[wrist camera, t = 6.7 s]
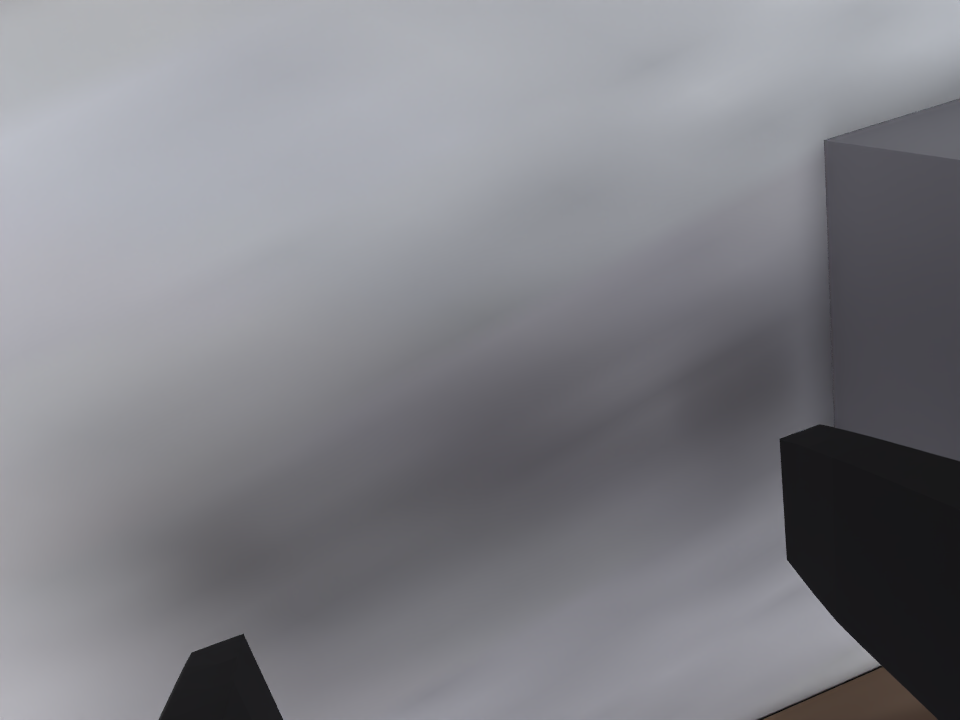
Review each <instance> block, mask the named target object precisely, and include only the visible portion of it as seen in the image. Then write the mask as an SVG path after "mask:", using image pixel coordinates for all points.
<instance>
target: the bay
mask: <svg viewBox="0 0 960 720" xmlns="http://www.w3.org/2000/svg"><path fill="white" fill-rule="evenodd" d="M762 720H938V719H937V718H936V717H935V716H934V715H933V714H932V713H931V712H930V711H929V710H927V709H926V708H925V707H924V706H923V705H922V704H921V703H920V702H919V701H918V700H917V699H916V698H915V697H914V696H913V695H912V694H911V693H910V692H909V691H908V690H907V689H906V688H905V687H903V686H902V685H901V684H900V683H899V682H898V681H897V680H896V679H895V678H894V677H893V676H892V675H891V674H890V673H889V672H888V671H887V670H886V669H885V668H884V667H881V668H879V669H877V670H874V671H872V672H870V673H867V674H865V675H863V676H861V677H858V678H856V679H854V680H851V681H849V682H847V683H845V684H842V685H840V686H838V687H835V688H833V689H831V690H829V691H826V692H824V693H822V694H820V695H817V696H815V697H813V698H810V699H808V700H806V701H804V702H801V703H799V704H797V705H794V706H792V707H790V708H788V709H785V710H783V711H781V712H778V713H776V714H774V715H772V716H769V717H767V718H765V719H762Z"/></svg>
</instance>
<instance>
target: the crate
mask: <svg viewBox="0 0 960 720" xmlns="http://www.w3.org/2000/svg"><path fill="white" fill-rule="evenodd" d="M824 150H825V178H826V206H827V233H828V261H829V289H830V317H831V345H832V372H833V400H834V428H839V429H843V430H847V431H851V432H855V433H859V434H863V435H867V436H871V437H874V438H878V439H882V440H885V441H889V442H893V443H896V444H900V445H904V446H907V447H911V448H914V449H918V450H921V451H925V452H929V453H932V454H936V455H939V456H943V457H946V458H950V459H954V460H957V461H960V99H957V100H954V101H950V102H947V103H944V104H941V105H937V106H934V107H931V108H928V109H924V110H921V111H918V112H915V113H911V114H908V115H905V116H902V117H898V118H895V119H892V120H889V121H885V122H882V123H879V124H876V125H872V126H869V127H866V128H863V129H859V130H856V131H853V132H850V133H846V134H843V135H840V136H837V137H833V138H830V139H827V140H824Z"/></svg>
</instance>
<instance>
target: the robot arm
mask: <svg viewBox="0 0 960 720" xmlns="http://www.w3.org/2000/svg"><path fill="white" fill-rule="evenodd" d="M780 452H781V469H782V485H783V502H784V518H785V535H786V551H787V560H788V561H789V563H790V564H791V565H792V567H793V568H794V569H795V570H796V572H797V573H798V574H799V575H800V577H801V578H802V579H803V581H804V582H805V583H806V584H807V586H808V587H809V588H810V590H811V591H812V592H813V593H814V595H815V596H816V597H817V598H818V599H819V601H820V602H821V603H822V604H823V605H824V607H825V608H826V609H827V610H828V611H829V613H830V614H831V615H832V616H833V617H834V619H835V620H836V621H837V622H838V623H839V624H840V625H841V626H842V627H843V628H844V629H845V630H846V631H847V632H848V633H849V634H850V635H851V636H852V637H853V638H854V639H855V640H856V641H857V642H858V643H859V644H860V645H861V646H862V647H863V648H864V649H865V650H866V651H867V652H868V653H869V654H870V655H871V656H872V657H873V658H874V659H876V660H877V661H878V662H879V663H880V664H881V665H882V666H883V667H884V668H885V669H886V670H887V671H888V672H889V673H890V674H891V675H892V676H893V677H894V678H895V679H896V680H897V681H898V682H899V683H900V684H901V685H902V686H903V687H905V688H906V689H907V690H908V691H909V692H910V693H911V694H912V695H913V696H914V697H915V698H916V699H917V700H918V701H919V702H920V703H921V704H922V705H923V706H924V707H925V708H926V709H927V710H929V711H930V712H931V713H932V714H933V715H934V716H935V717H936V718H937V719H938V720H960V461H957V460H954V459H950V458H946V457H943V456H939V455H936V454H932V453H929V452H925V451H921V450H918V449H914V448H911V447H907V446H904V445H900V444H896V443H893V442H889V441H885V440H882V439H878V438H874V437H871V436H867V435H863V434H859V433H855V432H851V431H847V430H843V429H839V428H834V427H829V426H825V425H817V426H814V427H811V428H809V429H806V430H803V431H800V432H798V433H795V434H792V435H789V436H787V437H784V438H781V439H780ZM159 720H283V718H282V716H281V714H280V712H279V710H278V708H277V705H276V703H275V701H274V699H273V697H272V695H271V693H270V690H269V688H268V686H267V684H266V682H265V680H264V677H263V675H262V673H261V671H260V669H259V667H258V664H257V662H256V660H255V658H254V656H253V654H252V651H251V649H250V647H249V645H248V643H247V641H246V639H245V636H244V634H242V635H239V636H236V637H233V638H231V639H228V640H225V641H222V642H220V643H217V644H214V645H211V646H209V647H206V648H203V649H200V650H198V651H195V652H192V653H191V655H190V657H189V658H188V660H187V662H186V664H185V666H184V668H183V670H182V672H181V674H180V676H179V678H178V680H177V682H176V684H175V686H174V688H173V691H172V693H171V695H170V697H169V699H168V701H167V703H166V705H165V707H164V710H163V712H162V714H161V716H160V718H159Z"/></svg>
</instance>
